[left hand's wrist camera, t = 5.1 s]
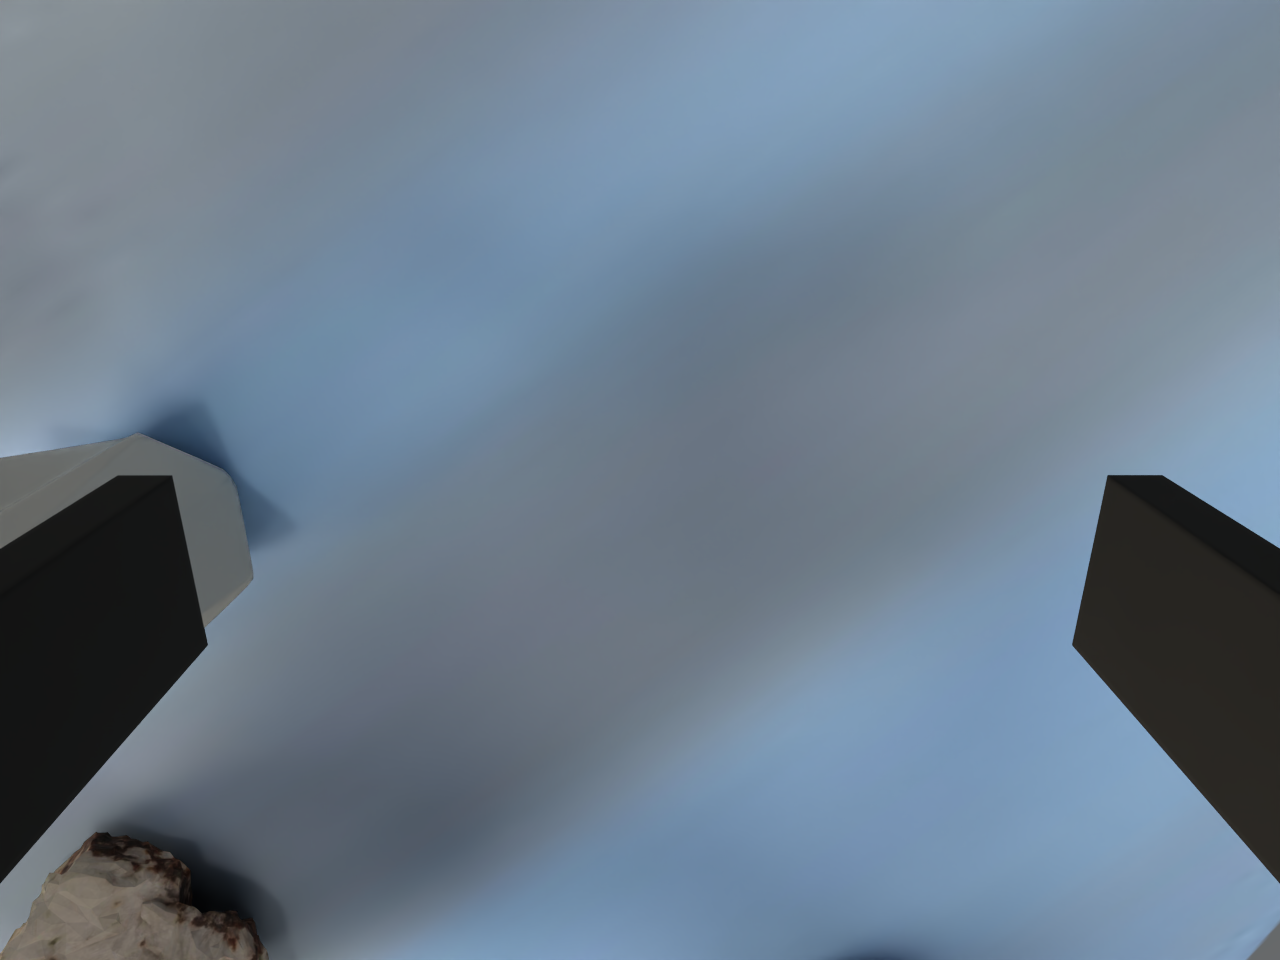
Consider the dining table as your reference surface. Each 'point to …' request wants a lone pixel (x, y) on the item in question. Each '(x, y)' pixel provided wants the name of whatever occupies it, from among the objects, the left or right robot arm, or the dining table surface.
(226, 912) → the rock
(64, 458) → the vase
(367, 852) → the dining table surface
